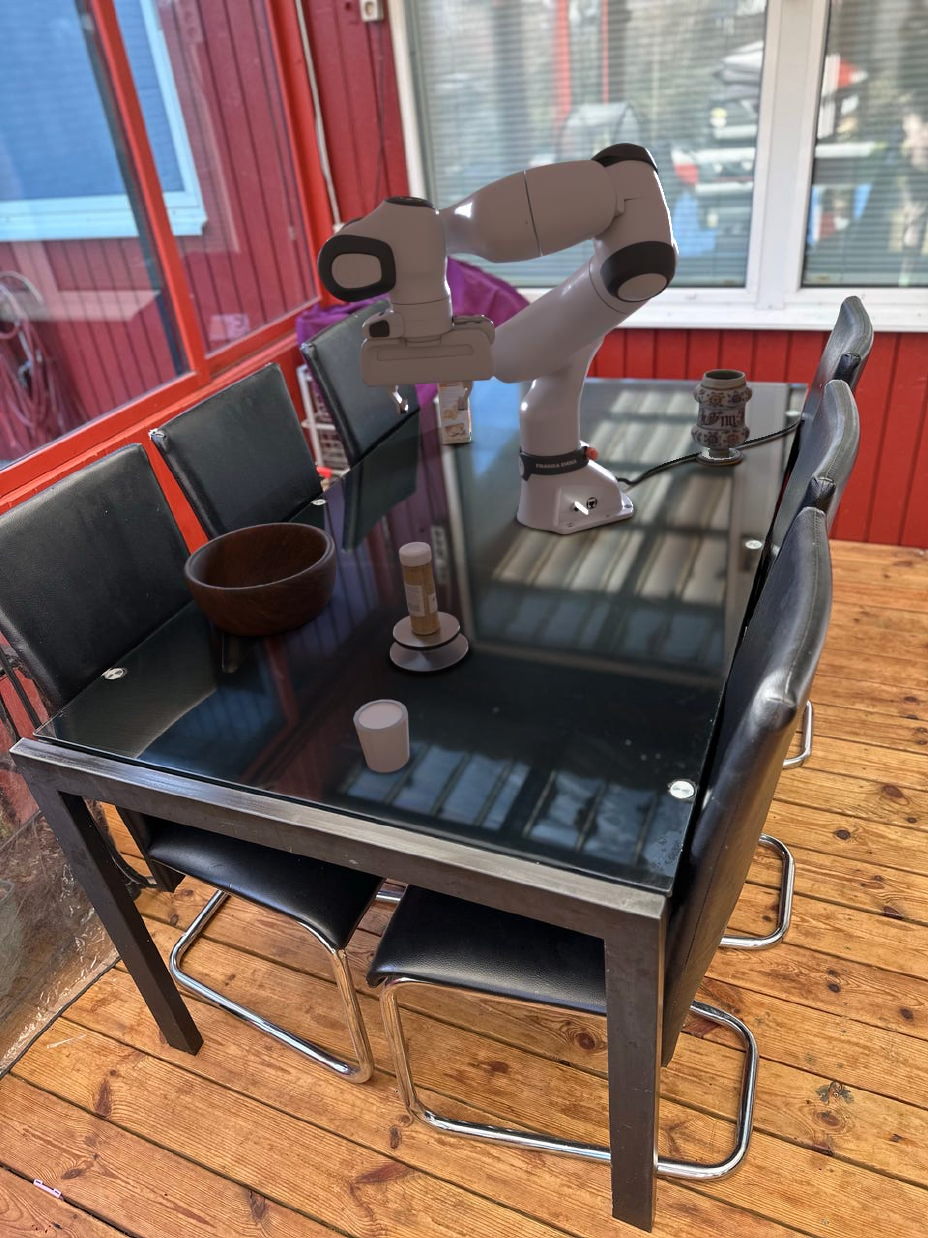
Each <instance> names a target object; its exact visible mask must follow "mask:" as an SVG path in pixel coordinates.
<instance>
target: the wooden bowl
mask: <svg viewBox="0 0 928 1238" xmlns="http://www.w3.org/2000/svg"><path fill="white" fill-rule="evenodd" d="M336 551H337V550H336V544H335V541H334V539H333V537H332V536H331V534H329V533H328V532H327V531H326V530H324V529H321V528H319V527H317V526H313V525H310V524H307V523H306V524H305V523H298V522H273V523H264V524H257V525H251V526H248V527H243V528H240V529H236V530H233V531H231V532H228V533H224V534H222V535H220V536H218V537H216V538H215V537H214V538H213V539H211V540H209V541H208V542H206V543H204V544H203V545H201V546H200V547H198V548H197V549H196V550H195V551H193V552H192V554H191V555H189V557H188V558H187V559H186V561H185V563H184V565H183V578H184V581H185V584H186V586H187V587H188V590H189V593H190V595H191V597H192V598H193V600H194V602H195V604H196V605H197V607H198V609H199V610H200V612H201V613H202V614H203V616H204V617H205V618H206V619H207V621H209V622H210V623H211V624H212V625H214V626H215V627H216V628H218V629H219V630H221V631H223V632H226V633H229V634H231V635H236V636H243V637H261V636H270V635H275V634H279V633H284V632H287V631H290V630H293V629H296V628H298V627H300V626H302V625H305V624H306V623H308V622H310V621H312V620H313V619H314V618H316V617H317V616H318V615H319V614H320V613H322V611H323V610H324V609H325V608H326V607H327V605H328V604H329V602H330V599H331V598H332V596H333V592H334V589H335V586H336V585H335V584H336V579H337V578H336V577H337V552H336Z"/></svg>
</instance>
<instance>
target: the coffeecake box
mask: <svg viewBox="0 0 928 1238" xmlns="http://www.w3.org/2000/svg"><path fill="white" fill-rule="evenodd" d="M436 389H437V398H438V408H439V418H440V426H441V427H440V429H441V436H442V445H448V444H449V445H450V444H465V443H472V442H471V441H472V436H471V437H470V432H471V433H472V419H471V405H470V396H469V397H468V404H469V408H468V410H463V411H458V404H457V399H458V397H460V396H464V394H465V392H466V390H467V388H466V389H464V388H463V382H450V383H436ZM468 437H470V439H463V438H468ZM458 439H460V440H458Z"/></svg>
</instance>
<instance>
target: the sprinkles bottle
mask: <svg viewBox="0 0 928 1238" xmlns="http://www.w3.org/2000/svg"><path fill="white" fill-rule="evenodd" d="M398 554H399V561H400V564H401V567H402V574H403V583H404V584H403V585H404V591H405V598H406V604H407V610H408V614H409V616H410V620H411V630H412V631H413V632H414V633H416V634H420V635H426V634H431V633H434V632H435V631H437V630H438V629H439V627H440V622H439V617H438V612H439V611H438V601H437V594H436V587H435V580H434V574H433V567H432V558H433V556H432V555H433V554H432V548H431V546H430V545H429V544H428V543H427V542H423V541H422V542H421V541H414V542H409V543H405V544H404V545H402V546H401V547H400V548H399V550H398Z"/></svg>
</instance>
